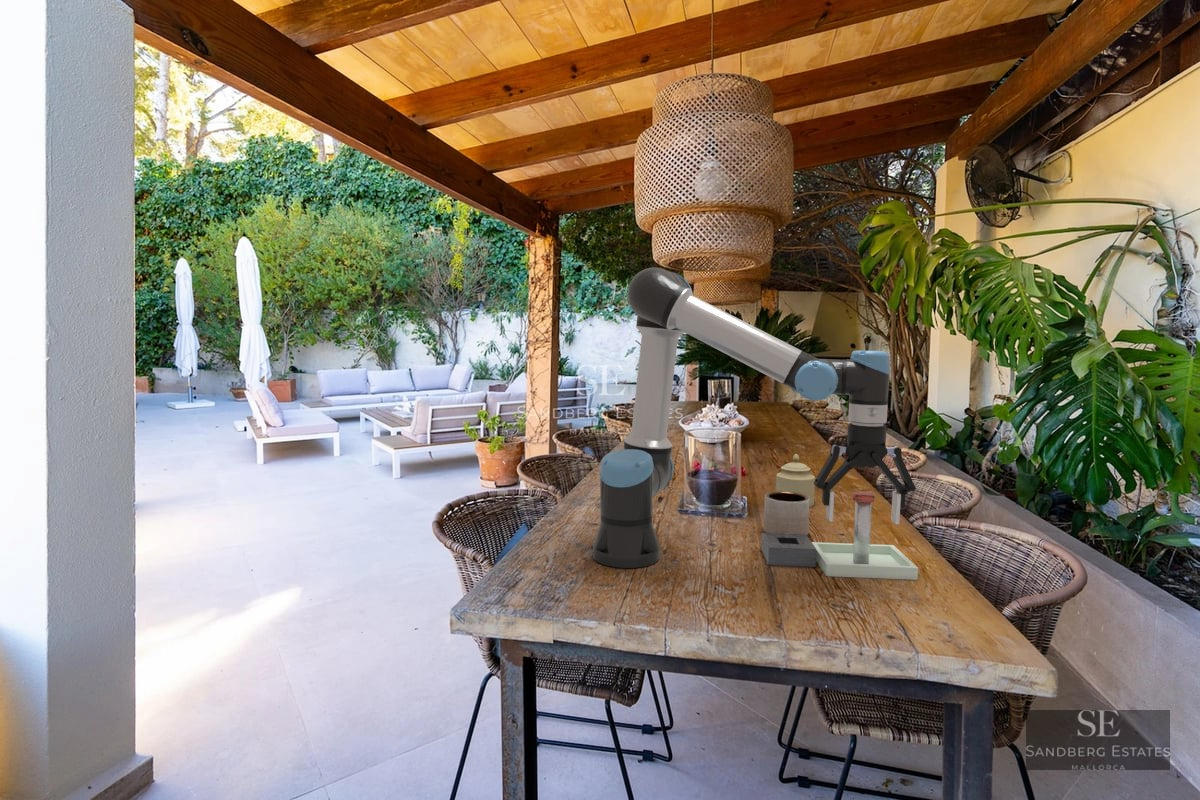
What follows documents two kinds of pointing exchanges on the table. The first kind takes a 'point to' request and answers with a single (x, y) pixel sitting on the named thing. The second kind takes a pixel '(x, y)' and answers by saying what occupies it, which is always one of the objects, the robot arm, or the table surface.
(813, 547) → the block
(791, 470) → the sugar bowl
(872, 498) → the red capped tube
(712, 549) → the table surface
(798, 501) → the planter
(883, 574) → the tray
